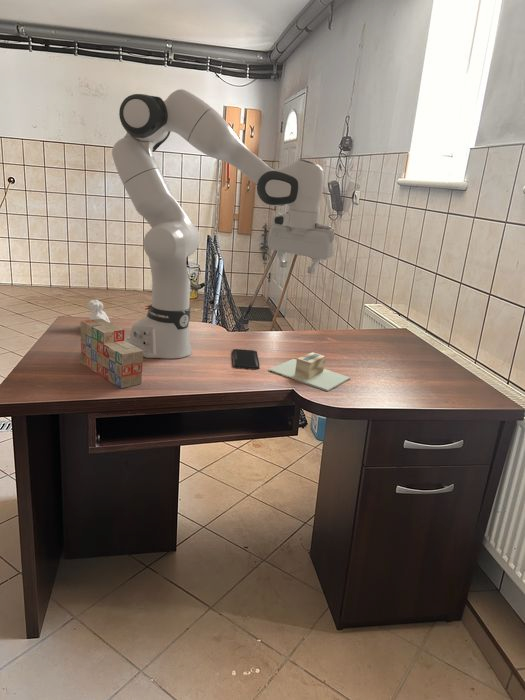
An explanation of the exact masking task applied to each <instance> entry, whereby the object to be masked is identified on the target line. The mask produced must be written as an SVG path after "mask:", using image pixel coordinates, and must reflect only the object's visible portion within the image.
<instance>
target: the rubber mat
mask: <svg viewBox="0 0 525 700" xmlns="http://www.w3.org/2000/svg"><path fill="white" fill-rule="evenodd" d="M296 362H297V358H296V359H294V358H292V359H290V360H286V361H284V362H282V363H280V364H278V365H274V366H272V367H270V368H268V369H267V371H268V370H270V371H272V372H271V373H273V372H275V373H274V374H276V373H279V374H281V375H280V376H282V375H284V376H283V377H285V376H287V377H286V378H288V377H289V378H288V379H290V378H292V379H291V380H293V379H295V380H294V381H296V380H298V381H297V382H299V381H300V382H299V383H302V382H303V384H305V385H308V386H310V387H314V388H316V389H320V390H323V391H326V392H329V391H331V390H334V389H335V388H337V387H339V386H341V385H342V384H344V383H346V382H347V381H349V380H351V377H350V376H347V375H346V374H345V375H344V374H341V373H339V372H334V371H332V370H329V369H326V368H324V370H323V372H322V373H320V374H318V375H316V376H314V377H312V378H310V379H306V378H303V377H300V376H297V375H295V369H296ZM270 371H269V372H270ZM279 374H278V375H279Z"/></svg>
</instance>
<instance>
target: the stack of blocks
mask: <svg viewBox="0 0 525 700" xmlns="http://www.w3.org/2000/svg"><path fill="white" fill-rule="evenodd" d="M79 324H80V350H81V353H80V359H81V362H80V363H81V364H83V365H84V366H86V367H87V368H89V369H90V370H92V371H93V372H94V373H96V374H98V375H99V376H101V377H103V378H104V379H106V380H107V381H109V382H111V383H112V384H114V385H115V386H116V387H118V388H119V389H123V388H124V389H125V388H129V387H134V386H137V385H141V384H142V378H143V374H142V373H143V363H144V356H143V350H141V349H139V348H137V347H136V346H134V345H132V344H130V343H128V342H126V341H124V339H125V329H124V328H122V327H119V326H117V325H115V324H113V323H111V322H110V323H109V322H107V321H106V320H104V319H92V320H89V319H85V320H80V323H79Z"/></svg>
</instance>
